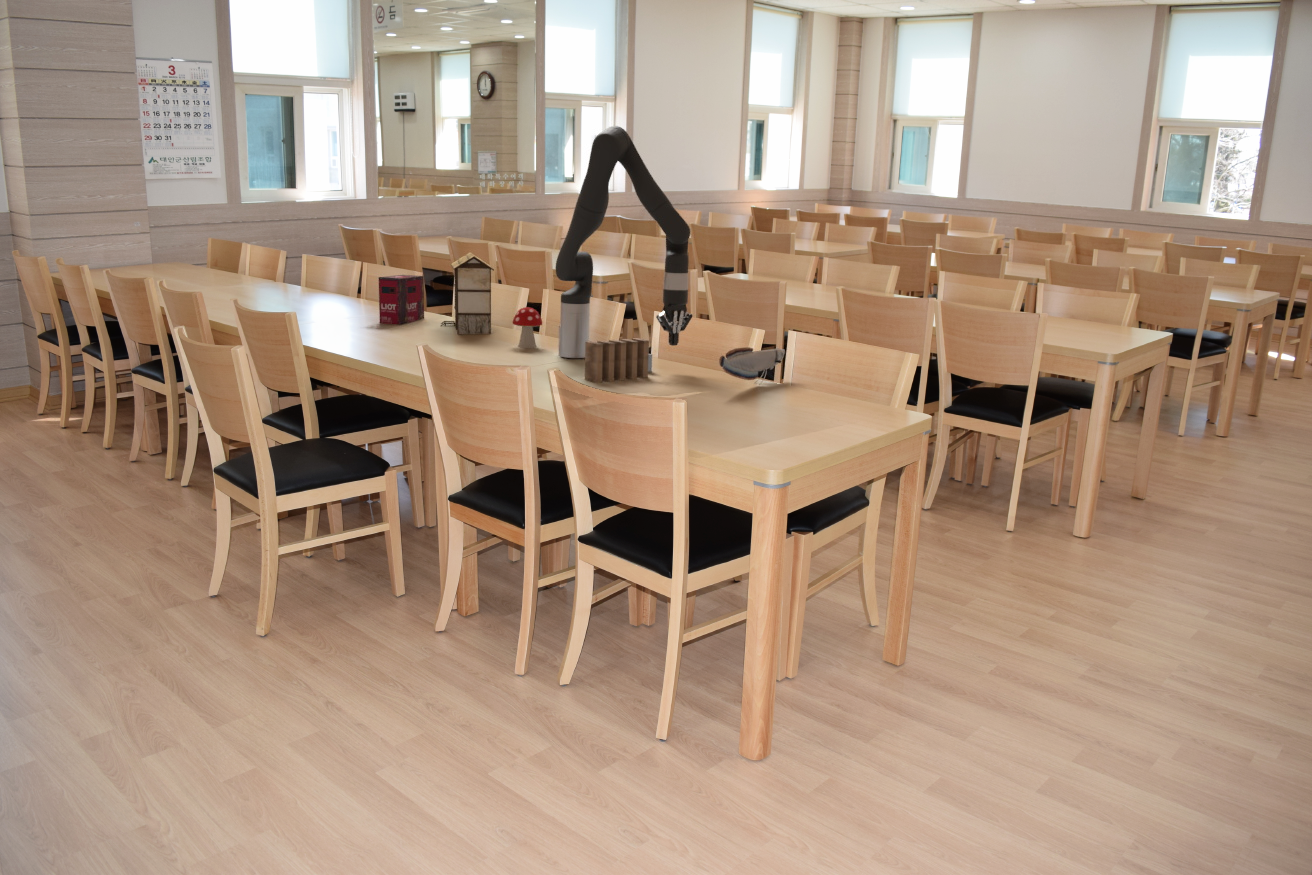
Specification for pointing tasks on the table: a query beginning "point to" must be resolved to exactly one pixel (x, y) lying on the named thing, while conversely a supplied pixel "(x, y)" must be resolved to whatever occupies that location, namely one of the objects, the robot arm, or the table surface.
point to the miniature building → (472, 295)
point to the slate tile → (650, 363)
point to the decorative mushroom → (527, 326)
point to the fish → (750, 362)
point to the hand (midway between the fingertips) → (673, 345)
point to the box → (401, 299)
